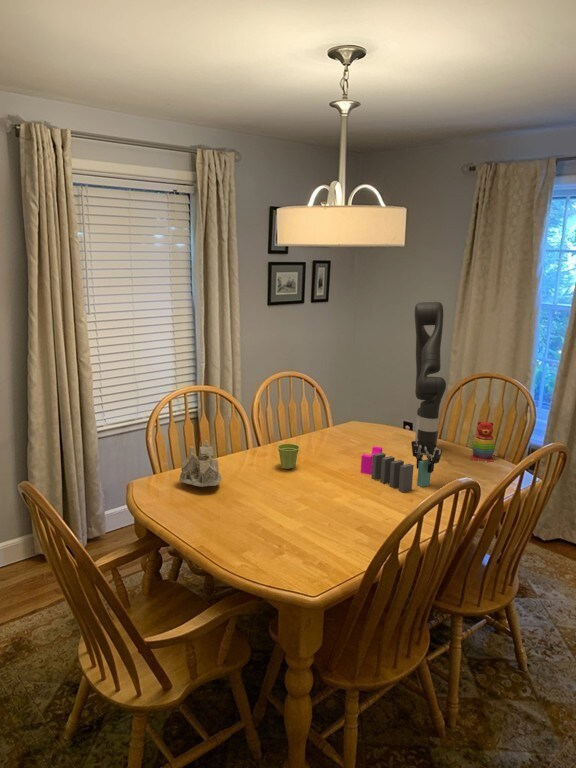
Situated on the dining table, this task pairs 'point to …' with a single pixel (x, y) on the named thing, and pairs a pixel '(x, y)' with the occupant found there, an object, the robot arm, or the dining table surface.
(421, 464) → the domino
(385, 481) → the domino
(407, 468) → the domino
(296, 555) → the dining table surface
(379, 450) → the toy block
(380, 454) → the domino
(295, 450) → the plant pot
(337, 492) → the dining table surface
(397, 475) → the domino
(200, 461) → the ceramic cottage
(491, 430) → the stacking bear
